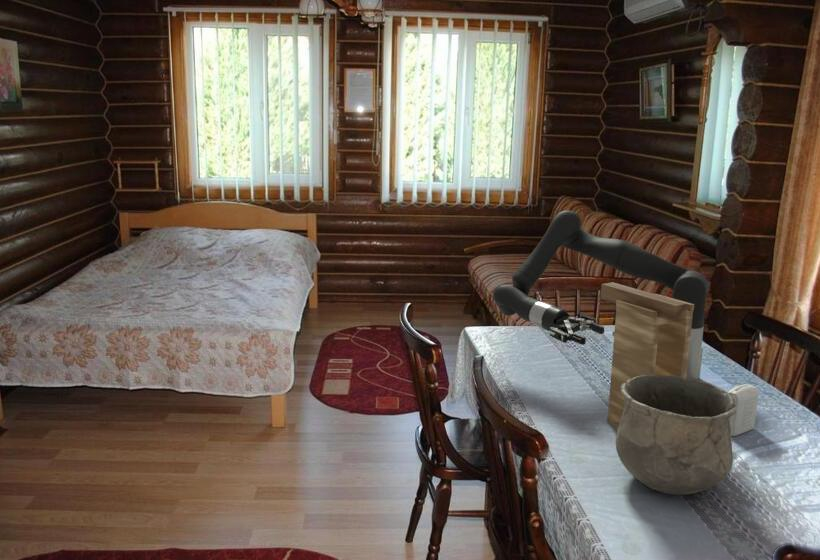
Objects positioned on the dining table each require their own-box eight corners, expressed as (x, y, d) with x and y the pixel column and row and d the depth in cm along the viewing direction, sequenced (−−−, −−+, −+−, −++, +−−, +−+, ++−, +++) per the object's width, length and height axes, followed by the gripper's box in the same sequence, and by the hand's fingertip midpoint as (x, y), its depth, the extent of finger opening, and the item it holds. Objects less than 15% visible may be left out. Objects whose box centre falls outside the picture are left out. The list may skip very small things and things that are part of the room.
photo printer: (741, 422, 183) (746, 379, 180) (756, 428, 179) (762, 384, 176) (718, 432, 177) (723, 387, 174) (733, 438, 174) (739, 393, 171)
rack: (644, 411, 189) (655, 293, 181) (681, 428, 179) (694, 304, 171) (606, 422, 182) (616, 300, 174) (642, 440, 172) (654, 312, 164)
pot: (753, 504, 144) (766, 410, 139) (657, 522, 138) (667, 423, 133) (676, 450, 167) (685, 367, 162) (591, 463, 161) (597, 377, 156)
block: (611, 296, 184) (612, 282, 183) (686, 319, 163) (687, 303, 162) (600, 298, 182) (601, 283, 181) (674, 322, 161) (676, 305, 161)
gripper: (563, 320, 209) (608, 339, 197) (532, 336, 201) (577, 357, 189) (564, 298, 206) (610, 315, 194) (533, 313, 198) (579, 333, 186)
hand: (594, 336), depth 192 cm, fingers open, 8 cm apart
